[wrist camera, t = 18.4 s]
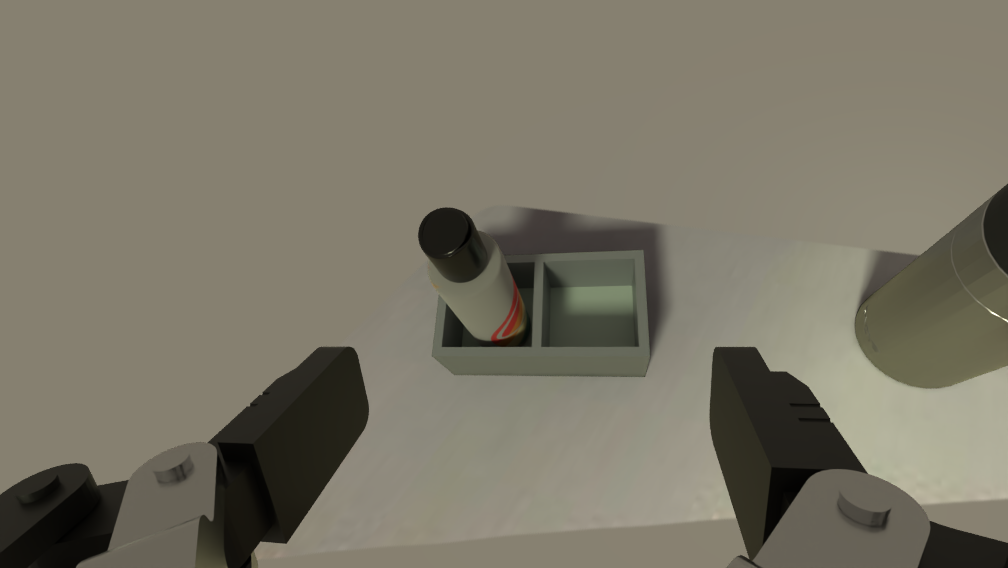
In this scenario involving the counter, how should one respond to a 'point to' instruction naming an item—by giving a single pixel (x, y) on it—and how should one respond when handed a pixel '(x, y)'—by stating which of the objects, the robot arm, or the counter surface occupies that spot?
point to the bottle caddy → (562, 320)
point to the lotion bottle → (474, 279)
